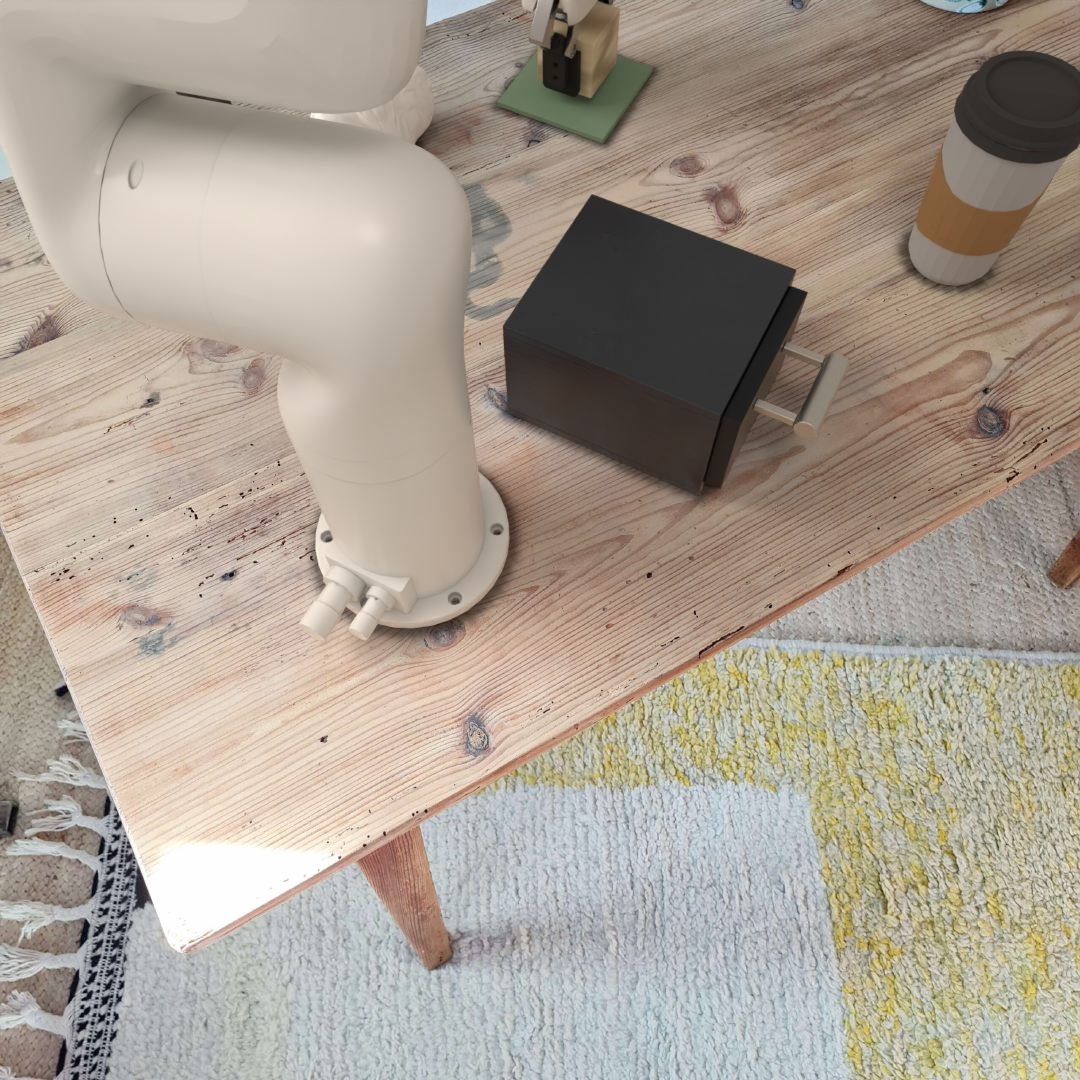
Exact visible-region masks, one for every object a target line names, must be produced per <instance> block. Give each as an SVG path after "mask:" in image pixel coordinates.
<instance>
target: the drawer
mask: <svg viewBox="0 0 1080 1080" xmlns="http://www.w3.org/2000/svg"><path fill="white" fill-rule="evenodd" d="M808 294H809V292H808V291H806V290H804V289H801V288H798V287H796V286H790V288H789V290H788V292H787V293H786V295H785V297H784V299H783V301H782V303H781V305H780V307H779V309H778V311H777V313H776V315H775V317H774V318H773V320H772V322H771V324H770V326H769V328H768V330H767V332H766V334H765V336H764V338H763V340H762V342H761V343H760V345H759V347H758V349H757V351H756V353H755V355H754V357H753V359H752V361H751V363H750V365H749V367H748V368H747V370H746V372H745V374H744V376H743V378H742V380H741V382H740V384H739V386H738V388H737V390H736V392H735V393H734V395H733V397H732V399H731V401H730V403H729V405H728V407H727V409H726V411H725V413H724V415H723V417H722V420H721V424H720V427H719V431H718V434H717V438H716V441H715V445H714V448H713V452H712V455H711V459H710V462H709V466H708V470H707V473H706V477H705V480H704V482H705V484H707V485H709V486H712V487H714V488H717V489H719V490H721V489H722V487H723V486H724V483H725V482H726V480H727V477H728V475H729V473H730V471H731V470H732V468H733V465H734V463H735V461H736V459H737V457H738V456H739V453H740V451H741V449H742V447H743V445H744V443H745V441H746V440H747V437H748V435H749V433H750V431H751V429H752V427H753V425H754V423H755V421H756V419H757V417H758V415H759V413H760V414H762V415H764V416H767V417H769V418H771V419H774V420H776V421H779V422H782V423H784V424H786V425H789V426H792V431H793V432H794V434H795V435H797V437H800V438H801V439H805V440H815V439H816V438H817V437H818V435H819V434H820V431H821V429H822V427H823V425H824V422H825V420H826V418H827V416H828V414H829V412H830V410H831V408H832V405H833V404H834V401H835V399H836V396H837V394H838V392H839V390H840V388H841V386H842V384H843V381H844V379H845V377H846V375H847V373H848V370H849V368H850V364H851V363H850V360H849V359H848V357H846V356H845V355H844V354H842V353H838V352H831V353H828V354H827V355H823V354H821V353H818V352H815V351H813V350H810V349H808V348H806V347H803V346H799V345H797V344H795V343H792V339H793V336H794V333H795V330H796V328H797V325H798V322H799V319H800V317H801V314H802V310H803V308H804V306H805V302H806V300H807V296H808ZM786 356H788V357H790V358H791V357H792V358H794V359H796V360H799V361H802V362H804V363H807V364H809V365H812V366H815V367H817V368H819V370H818V372H817V374H816V377H815V378H814V380H813V383H812V385H811V387H810V389H809V390H808V392H807V394H806V396H805V399H804V401H803V403H802V406H801V407H800V410H799V412H798V413H796V412H794V411H791V410H789V409H786V408H783V407H781V406H778V405H776V404H773V403H771V402H768V401H766V400H767V397H768V395H769V394H770V391H771V390H772V387H773V385H774V384H775V381H776V379H777V378H778V375H779V373H780V371H781V369H782V367H783V365H784V362H785V359H786Z"/></svg>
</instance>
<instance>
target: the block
mask: <svg viewBox="0 0 1080 1080" xmlns="http://www.w3.org/2000/svg"><path fill="white" fill-rule="evenodd" d="M558 6H559V7H562V6H561V3H560V2H559V5H558ZM620 16H621V8H620V7H617V6H614V5H612V6H611V5H608V4H605V3H602V2H599V1H597V2H596V3H595V5H594V6H593V7H592V9H591V10H590V11H589V12H588V14H587V15H586V16H585V17H584V18H583V19H582V20H581V22H580V29H579V36H578V42H577V49H576V50H578V51H581V71H580V92H579V93H578V94H579V95H582V96H585V97H588V98H592V96H593V95H594V93H595V92H596V91H597V89H598V88H599V86H600V85H601V84H602V82H603V81H604V79H605V78H606V77H607V75H608V74H609V72H610V71H611V70H612V68H613V67H614V65H615V64H616V61H617V55H618V48H619V47H618V44H619V31H620ZM567 29H568V24H567V23H564V22H561V21H558V20H554V27H553V31H554V32H556V33H559V34H562V35H563V36H564V37H567ZM537 50H538V80H539V81H542V82H543V49H541V48H540V46H539V45H537Z"/></svg>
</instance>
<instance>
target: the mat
mask: <svg viewBox="0 0 1080 1080" xmlns="http://www.w3.org/2000/svg"><path fill="white" fill-rule="evenodd" d="M653 71H654V67H653V66H652V65H649V64H646V63H642V62H640V61H637V60H634V59H631V58H628V57H625V56H623V55H622V56H621V55H619V54H617V61H616V64H615V65H614V67H613V68H612V70H611V71H610V72H609V74H608V75H607V77H606V78H605V79H604V81H603V82H602V84H601V85H600V86H599V88H598V89H597V91H596V92H595V93H594V95H593V96H592V98H588V97H585V96H582V95H579V94H578V95H577V96H576V97H571V96H568V95H566V94H563V93H560V92H557V91H554V90H551V89H548V88H546V87H545V86H544V85H543V82H542V81H539V80H538V49H537V50H536V51H535V52H534V54H532V56H531V57H530V59H529V60H528V62H527V63H525V65H524V67H523V68H522V69H521V70H520V72H519V73H518V74H517V76H516V77H515V78H514V80H513V81H512V82H511V83H510V85H508V87H507V89H506V90H505V91H504V92H503V93H502V95H501V96H500V98H499V99H498V100H497V107H499V108H501V109H504V110H507V111H510V112H512V113H516V114H519V115H521V116H524V117H526V118H529V119H532V120H536V121H538V122H541V123H544V124H546V125H549V126H552V127H554V128H558V129H561V130H563V131H566V132H569V133H571V134H575V135H577V136H580V137H583V138H586V139H587V140H591V141H594V142H597V143H600V144H602V145H603V144H604V143H605V142H606V140H607V139H608V137H609V136H610V134H611V133H612V132H613V130H614V129H615V127H616V126H617V124H618V123H619V121H620V120H621V119H622V117H623V116H624V114H625V113H626V111H627V110H628V108H630V106H631V104H632V103H633V101H634V100H635V98H636V97H637V95H638V94H639V92H640V91H641V89H642V88H643V86H644V85H645V84H646V82H647V81H648V79H649V78H650V76H651V75H652V74H653Z"/></svg>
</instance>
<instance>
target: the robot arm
mask: <svg viewBox="0 0 1080 1080" xmlns="http://www.w3.org/2000/svg"><path fill="white" fill-rule="evenodd" d="M520 1H521V6H522V9H523V11H524V12H527V13H530V14H532V13H534V14H533V18H532V22H531V25H530V30H529V33H528V42H529V43H530V44H534V45H536V46H538V45H539V46H540V48H541V49H543V85H544V86H545V87H546V88H548V89H551V90H554V91H557V92H560V93H563V94H566V95H568V96H571V97H576V96H577V95H578V93H579V92H580V71H581V51H578V50H576V49H577V42H578V36H579V29H580V22H581V20H582V19H583V18H584V17H585V16H586V15H587V14H588V12H589V11H590V10H591V9H592V7H593V6H594V5H595V3H596V2H597V1H599V2H602V3H605V4H608V5H611V6H614V3H615V0H520ZM559 2H560V3H561V6H562V7H559V6H558V5H559ZM428 4H429V0H0V147H1V149H2V152H3V155H4V157H5V160H6V163H7V165H8V167H9V170H10V173H11V176H12V179H13V180H14V184H15V186H16V188H17V191H18V193H19V196H20V199H21V201H22V204H23V206H24V209H25V211H26V214H27V216H28V219H29V222H30V224H31V226H32V228H33V231H34V234H35V236H36V238H37V240H38V243H39V244H40V247H41V249H42V251H43V253H44V255H45V256H46V258H47V260H48V262H49V264H50V265H51V267H52V269H53V270H54V271H55V273H56V275H57V276H58V278H59V279H60V281H62V283H63V284H64V285H65V286H66V287H67V289H69V291H70V292H71V293H72V294H73V295H74V296H76V297H77V298H78V299H79V300H81V302H83V303H84V304H86V305H88V306H89V307H91V308H93V309H94V310H96V311H97V312H99V313H102V314H105V315H107V316H110V317H113V318H115V319H116V318H117V319H120V320H124V321H127V322H130V323H134V324H137V325H142V326H146V327H149V328H154V329H159V330H163V331H168V332H171V333H172V332H173V333H177V334H181V335H186V336H191V337H196V338H201V339H204V340H205V339H206V340H210V341H215V342H219V343H224V344H229V345H233V346H234V347H238V348H242V349H246V350H249V351H250V350H251V351H256V352H260V353H264V354H268V355H273V356H276V357H280V358H283V359H282V362H281V365H280V369H279V372H278V379H277V388H276V398H277V406H278V410H279V414H280V418H281V420H282V423H283V426H284V429H285V432H286V433H287V436H288V438H289V440H290V443H291V444H292V446H293V449H294V451H295V453H296V455H297V459H298V460H299V462H300V465H301V468H302V469H303V472H304V474H305V476H306V478H307V480H308V481H307V482H308V483H309V485H310V487H311V490H312V492H313V494H314V497H315V499H316V501H317V504H318V506H319V508H320V512H321V513H320V515H319V517H318V521H317V526H316V531H315V542H314V543H315V548H314V549H315V555H316V560H317V565H318V567H319V571H320V573H321V575H322V581H323V583H324V585H325V586H324V588H323V589H322V590H321V592H320V594H319V595H318V597H317V598H316V599H315V600H313V601H312V603H311V605H310V606H309V607H308V609H307V611H306V612H305V613H304V614H303V616H302V618H301V619H300V621H299V622H298V623H297V626H298V628H299V629H300V630H301V631H302V632H303V633H305V634H306V635H308V636H309V637H311V638H313V639H315V640H316V641H319V642H323V643H326V641H327V640H328V638H329V637H330V635H331V633H332V631H333V630H334V629H335V628H336V626H337V624H338V623H339V621H340V619H341V616H342V614H343V612H344V611H345V609H348V610H350V611H351V612H352V613H354V614H355V617H354V618H353V620H352V622H351V623H350V625H349V626H348V628H347V631H349V633H350V634H352V635H353V636H355V637H356V638H358V639H360V640H362V641H364V642H367V641H369V638H370V637H371V635H372V634H373V632H374V631H375V629H376V628H377V626H378V625H380V626H385V627H390V628H395V629H396V628H398V629H419V628H424V627H432V626H435V625H438V624H443V623H445V622H448V621H450V620H453V619H454V618H457V617H459V616H461V615H462V614H464V613H466V612H468V611H469V610H470V609H471V608H473V607H474V606H475V605H477V604H479V602H480V601H482V599H484V598H485V596H486V595H487V594H488V593H489V592H490V590H492V588H493V587H494V586H495V584H496V582H497V581H498V579H499V577H500V575H501V574H502V572H503V569H504V567H505V565H506V561H507V558H508V555H509V548H510V524H509V519H508V513H507V509H506V506H505V505H504V502H503V500H502V497H501V495H500V493H499V492H498V491H497V489H496V488H495V486H494V485H493V484H492V482H491V481H490V480H489V479H488V478H487V477H486V476H484V475H483V474H482V473H481V471H479V465H478V458H477V449H476V441H475V434H474V425H473V424H474V423H473V417H472V408H471V401H470V400H471V399H470V391H469V386H468V378H467V369H466V368H467V367H466V356H465V316H466V306H467V297H468V289H469V281H470V273H471V264H472V253H473V225H472V213H471V209H470V203H469V199H468V197H467V194H466V192H465V190H464V188H463V186H462V183H461V182H460V180H459V179H458V178H457V176H456V174H455V173H454V172H453V171H452V169H451V168H450V167H449V166H448V165H446V164H445V163H444V162H443V160H441V159H440V158H438V157H437V156H435V155H434V154H433V153H431V152H430V151H427V150H426V149H424V148H422V147H420V146H418V145H416V143H415V144H413V143H410V142H408V141H405V140H403V139H401V138H398V137H394V136H391V135H388V134H385V133H382V132H379V131H376V130H372V129H368V128H363V127H359V126H355V125H350V124H345V123H339V122H333V121H327V120H322V119H317V118H311V117H310V116H306V115H300V114H294V113H289V112H285V110H286V111H291V112H299V113H306V114H311V113H323V114H343V113H353V112H362V111H366V110H370V109H373V108H377V107H379V106H381V105H383V104H385V103H387V102H389V101H390V100H392V99H393V98H394V97H395V96H396V95H397V94H398V93H399V92H400V91H401V90H402V89H403V88H404V87H405V86H406V85H407V84H408V83H409V81H410V79H411V77H412V75H413V73H414V71H415V69H416V67H417V66H418V65H419V62H420V59H421V56H422V52H423V48H424V45H425V37H426V32H427V31H426V30H427V19H428V17H427V16H428ZM554 20H558V21H561V22H564V23H567V24H568V29H567V37H564V36H563V35H562V34H559V33H556V32H554V31H553V27H554ZM175 91H176V92H182V93H188V94H194V95H199V96H205V97H211V98H216V99H222V100H228V101H231V102H234V103H240V104H246V105H250V106H251V105H252V106H257V107H263V108H262V109H258V108H252V107H247V106H242V105H236V104H232V105H231V104H225V103H220V102H214V101H209V100H203V99H198V98H192V97H187V96H181V95H178V94H177V93H176V92H175ZM264 107H265V108H264ZM268 108H271V109H268ZM273 109H277V110H273ZM278 110H283V111H278ZM497 533H499V534H497ZM456 601H457V602H458V603H456V604H454V602H456Z"/></svg>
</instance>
